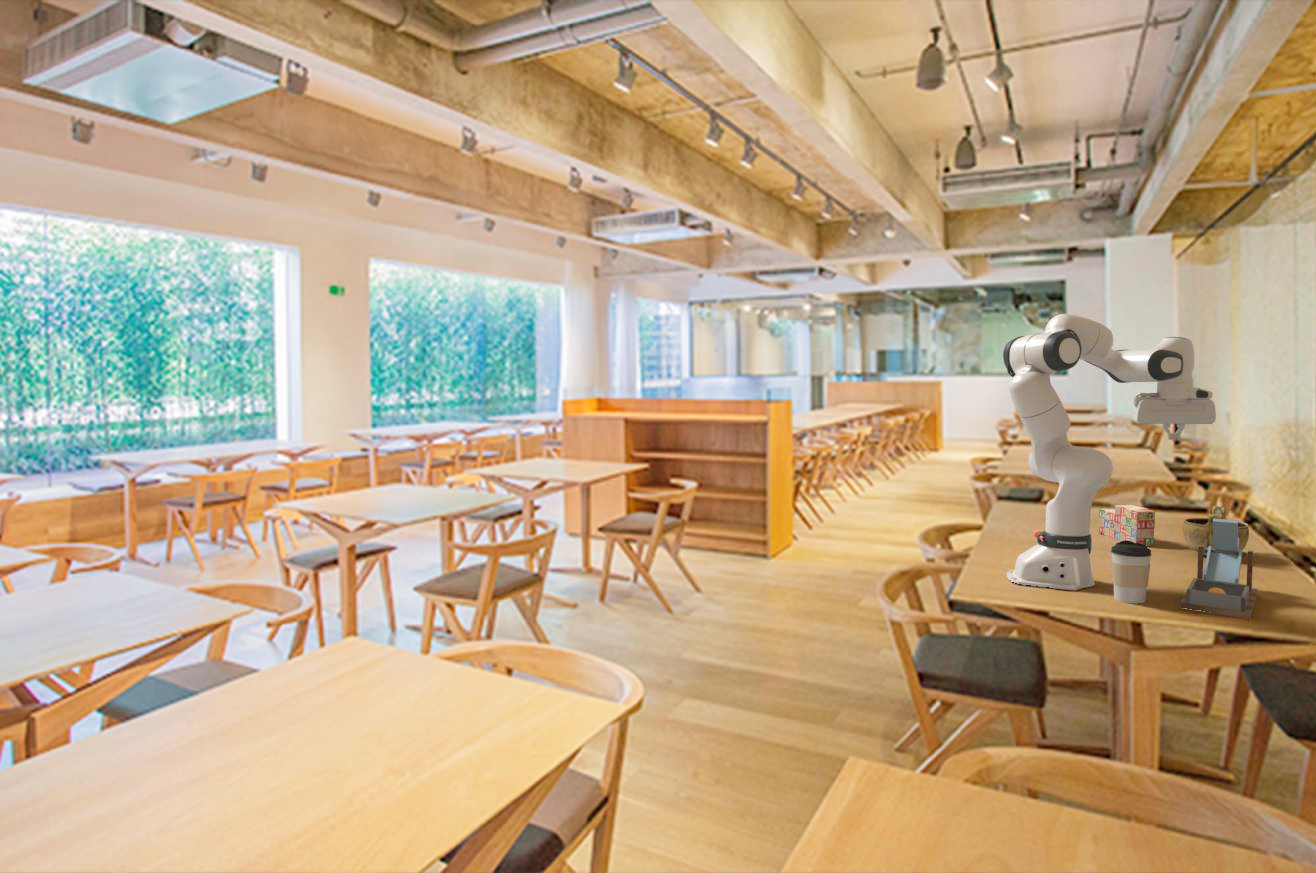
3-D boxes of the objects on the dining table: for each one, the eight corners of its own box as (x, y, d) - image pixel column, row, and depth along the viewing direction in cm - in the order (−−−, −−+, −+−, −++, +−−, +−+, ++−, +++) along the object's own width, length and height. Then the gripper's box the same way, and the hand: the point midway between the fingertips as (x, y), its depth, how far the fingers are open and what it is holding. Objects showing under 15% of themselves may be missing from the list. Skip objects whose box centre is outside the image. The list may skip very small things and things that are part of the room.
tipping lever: (1208, 552, 213) (1207, 505, 206) (1248, 556, 207) (1248, 509, 200) (1200, 596, 201) (1198, 548, 194) (1242, 602, 195) (1242, 553, 189)
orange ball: (1212, 582, 191) (1212, 597, 192) (1203, 588, 190) (1203, 602, 191) (1230, 588, 188) (1230, 602, 189) (1220, 594, 186) (1220, 608, 187)
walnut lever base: (1193, 585, 211) (1194, 543, 210) (1257, 594, 202) (1259, 549, 201) (1180, 608, 191) (1181, 561, 190) (1250, 619, 182) (1252, 570, 181)
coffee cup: (1156, 605, 194) (1158, 547, 193) (1117, 604, 196) (1118, 546, 195) (1141, 595, 203) (1143, 539, 202) (1104, 594, 205) (1105, 539, 204)
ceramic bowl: (1246, 566, 230) (1248, 517, 228) (1178, 559, 240) (1180, 512, 239) (1248, 552, 247) (1250, 506, 246) (1185, 546, 257) (1186, 502, 256)
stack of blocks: (1098, 533, 279) (1099, 500, 278) (1115, 533, 280) (1116, 500, 279) (1136, 546, 258) (1137, 510, 257) (1154, 546, 258) (1155, 510, 257)
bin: (1193, 591, 201) (1193, 578, 201) (1248, 598, 193) (1249, 585, 193) (1186, 603, 191) (1186, 589, 190) (1244, 612, 183) (1245, 597, 183)
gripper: (1137, 393, 225) (1136, 440, 226) (1219, 392, 219) (1217, 440, 220) (1131, 392, 231) (1130, 438, 232) (1210, 391, 225) (1208, 438, 226)
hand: (1173, 439), depth 226 cm, fingers closed
